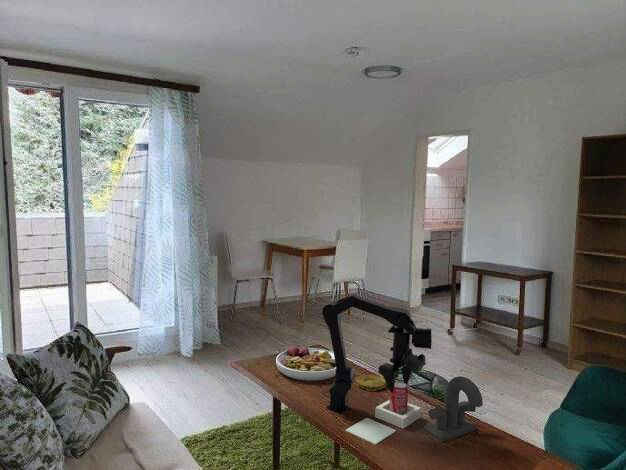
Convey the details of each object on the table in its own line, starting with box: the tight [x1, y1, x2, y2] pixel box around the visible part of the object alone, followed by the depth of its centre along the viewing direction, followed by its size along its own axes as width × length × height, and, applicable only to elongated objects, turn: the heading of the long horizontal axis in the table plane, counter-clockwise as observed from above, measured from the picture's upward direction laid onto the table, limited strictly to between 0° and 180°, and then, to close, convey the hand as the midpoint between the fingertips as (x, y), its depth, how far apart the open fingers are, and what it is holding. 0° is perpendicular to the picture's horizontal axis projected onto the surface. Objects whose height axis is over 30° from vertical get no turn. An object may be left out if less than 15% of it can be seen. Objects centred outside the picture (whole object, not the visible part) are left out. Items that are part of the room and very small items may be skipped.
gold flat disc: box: [356, 374, 387, 392], centre depth 194 cm, size 12×12×2 cm
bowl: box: [275, 345, 336, 382], centre depth 209 cm, size 30×30×8 cm
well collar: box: [374, 399, 422, 429], centre depth 167 cm, size 12×12×4 cm
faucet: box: [422, 376, 484, 443], centre depth 155 cm, size 18×16×20 cm
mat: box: [345, 417, 397, 446], centre depth 156 cm, size 12×12×1 cm
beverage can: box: [389, 381, 409, 416], centre depth 166 cm, size 6×6×12 cm
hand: (398, 388), depth 166 cm, fingers open, 9 cm apart
